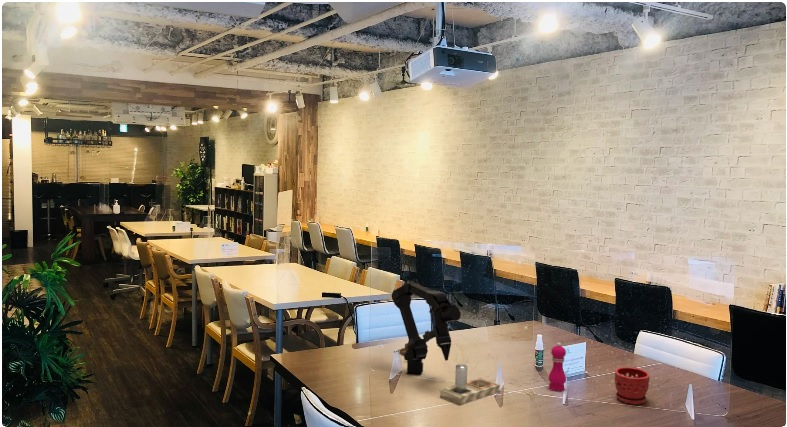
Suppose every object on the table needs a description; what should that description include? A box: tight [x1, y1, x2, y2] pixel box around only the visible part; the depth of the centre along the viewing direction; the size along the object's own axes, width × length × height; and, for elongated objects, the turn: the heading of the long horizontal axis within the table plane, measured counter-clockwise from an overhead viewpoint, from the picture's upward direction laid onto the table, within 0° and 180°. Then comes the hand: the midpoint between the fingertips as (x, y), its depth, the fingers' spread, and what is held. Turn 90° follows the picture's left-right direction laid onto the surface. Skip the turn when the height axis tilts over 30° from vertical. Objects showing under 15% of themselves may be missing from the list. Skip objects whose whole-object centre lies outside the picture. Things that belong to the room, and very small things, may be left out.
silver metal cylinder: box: [454, 363, 468, 394], centre depth 254 cm, size 5×5×13 cm
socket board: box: [439, 377, 501, 406], centre depth 258 cm, size 24×11×3 cm, turn 131°
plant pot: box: [614, 366, 650, 405], centre depth 256 cm, size 13×13×12 cm
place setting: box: [398, 342, 408, 356], centre depth 309 cm, size 18×20×6 cm
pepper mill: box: [548, 342, 567, 392], centre depth 267 cm, size 7×7×20 cm
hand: (446, 359), depth 266 cm, fingers open, 9 cm apart
